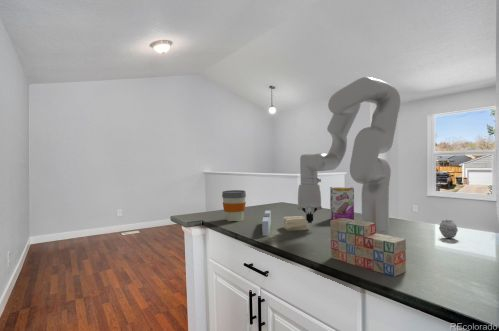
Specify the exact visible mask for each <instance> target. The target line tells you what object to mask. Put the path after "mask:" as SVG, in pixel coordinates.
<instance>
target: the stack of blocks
mask: <svg viewBox="0 0 499 331" xmlns="http://www.w3.org/2000/svg"><path fill="white" fill-rule="evenodd" d="M329 222H330V223H329V224H330V225H329V226H330V232H329V233H330V249H331V250H330V254H331V256H330V257H331V259H335V260H338V261H339V262H340V261H341V262H344V263H347V264H350V265H353V266H356V267H357V266H358V267H361V268H364V269H367V270H371V271H374V272H378V273H381V274H384V275H388V276H390V277H394V278H395V277H397V276H398V275H399V276H400V275H402V274H404V273H406V272H407V271H406V270H407V266H406V265H407V264H406V261H407V258H406V256H407V254H406V251H407V250H406V249H407V241H406V240H407V239H406V238H403V237H398V236H392V235H389V236H388V235H383V234H376V223H371V222H365V221H362V220H359V219H357V220H356V219H354V220H352V219H346V218H340V219H335V220H331V219H330V220H329Z"/></svg>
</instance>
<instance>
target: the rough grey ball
mask: <svg viewBox="0 0 499 331" xmlns="http://www.w3.org/2000/svg"><path fill="white" fill-rule="evenodd" d="M438 230H439V232H440V234H441V235H442V236H443V237H444V238H445V239H454V238H456V236H457V234H458V227H457V224H455V222H454V220H451V219H441V223H440V224H439V227H438Z"/></svg>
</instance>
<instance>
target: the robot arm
mask: <svg viewBox="0 0 499 331" xmlns="http://www.w3.org/2000/svg"><path fill="white" fill-rule="evenodd" d="M364 102H365V103H371V104H375V105H376V107H375V109H374V110H373V112H372V116H371V122H370V126H368V127H367V126H366V127H363V128H362V129H361V130H359V132H358V133H357V134H356V136H355V138H354V141H353V147H352V151H351V152H352V153H351V159H350V164H349V174H350V177H351V178H352V180H353V181H354V182H356V183H357V184H362V187H361V221H365V222H371V223H376V234H383V235H388V236H390V208H389V207H390V203H389V201H390V198H389V197H390V196H389V194H390V192H389V191H390V188H389V187H390V180H391V173H392V172H391V166H390V164H389V162H388V161H387V160H386V159H385V158H383V157H381V156H379V155H381V154H386V153H388V152H389V151H390V150H391V148H392V146H393V145H394V144H393V142H394V138H395V132H396V128H397V122H398V118H399V112H400V108H401V95H400V93H399V91H398V89H397V88H396V87H394V86H393V85H392V84H390V83H388V82H386V81H383V80H381V79H378V78H374V77H369V76H364V77H363V76H362V77H359V78H358V79H356V80H354V81H353V82H351V83H349V84H347V85H346V86H344V87H342V88H340V89H339V90H337V91H336V92H334V93H333V94H332V95H331V97H330V98H329V99H328V102H327V103H328V104H327V108H328V109H329V111H330V112H331V113H332V117H331V118H330V120H329V123H328V125H327V129H326V130H327V132H328V133H329V134H330V136H331V137H332V138H331V139H332V140H331V141H332V143H331V146H330V149H329V150H328V152H326V153H325V152H323V153H306V154H301V155H300V159H299V160H300V161H299V163H300V164H299V165H300V167H299V168H300V184H298V188H297V210H298V211H302V212H304V213H305V216H306V217H305V218H306V219H307V224H312V223H313V221H314V214H315V213H316V212H317V211H321V210H322V209H323V206H322V195H321V193H322V192H321V187H320V184H319V183H321V182H322V179H321V178H319V177H318V172H324V171H325V172H326V171H333V170H336V169H337V168H338V167H339V166H340V164H341V162H343V159H344V157H345V156H346V155H345V154H346V152H347V147H348V139H347V136H348V134H349V132H350V131H351V127H352V125H353V123H354V121H355V120H356V117H357V114H358V113H359V111H360V109H361V108H360V107H361V104H362V103H364ZM308 208H310V212H309V209H308Z"/></svg>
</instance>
